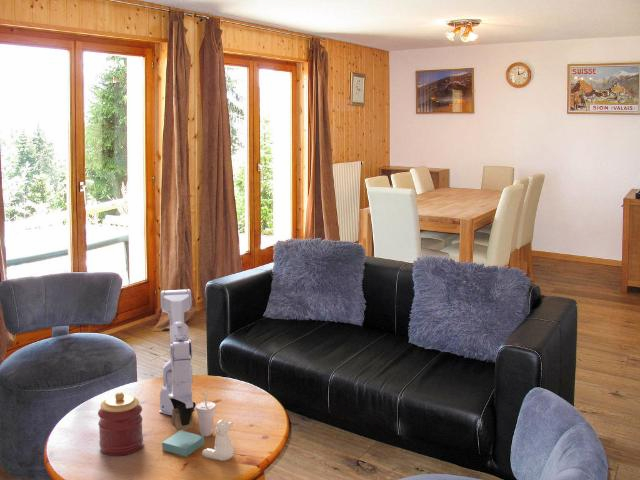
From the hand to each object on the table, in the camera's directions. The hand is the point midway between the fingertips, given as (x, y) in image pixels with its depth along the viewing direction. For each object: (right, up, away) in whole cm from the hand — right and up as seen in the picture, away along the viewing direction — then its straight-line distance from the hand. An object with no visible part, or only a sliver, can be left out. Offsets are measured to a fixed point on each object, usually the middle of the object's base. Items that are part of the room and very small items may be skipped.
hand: (182, 421), depth 205 cm
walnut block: (0, -1, 0) cm, 2 cm away
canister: (-19, -8, +1) cm, 21 cm away
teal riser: (0, -8, +2) cm, 8 cm away
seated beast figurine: (+13, -10, -4) cm, 16 cm away
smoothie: (+5, -7, +10) cm, 14 cm away
